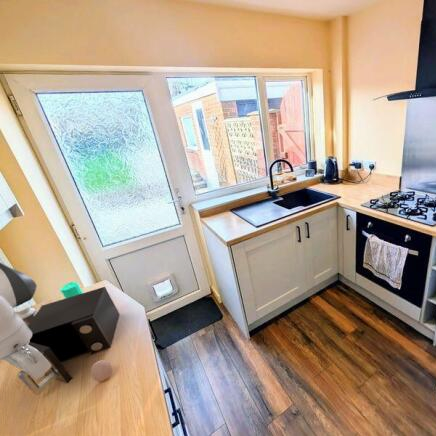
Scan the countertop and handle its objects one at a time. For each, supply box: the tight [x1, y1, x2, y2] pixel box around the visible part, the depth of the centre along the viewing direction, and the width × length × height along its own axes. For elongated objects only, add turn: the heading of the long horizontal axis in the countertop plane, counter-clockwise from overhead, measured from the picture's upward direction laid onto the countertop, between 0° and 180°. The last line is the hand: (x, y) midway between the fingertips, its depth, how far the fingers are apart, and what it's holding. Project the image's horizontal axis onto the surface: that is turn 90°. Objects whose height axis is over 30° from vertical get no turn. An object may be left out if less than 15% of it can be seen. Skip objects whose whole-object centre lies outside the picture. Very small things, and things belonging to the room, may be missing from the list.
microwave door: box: [17, 342, 74, 396], centre depth 74 cm, size 7×14×15 cm, turn 74°
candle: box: [59, 281, 84, 299], centre depth 109 cm, size 6×6×12 cm
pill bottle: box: [15, 304, 38, 326], centre depth 100 cm, size 5×5×10 cm
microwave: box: [28, 286, 121, 364], centre depth 89 cm, size 18×20×15 cm
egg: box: [90, 359, 113, 382], centre depth 77 cm, size 5×5×7 cm
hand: (34, 372), depth 71 cm, fingers open, 4 cm apart
